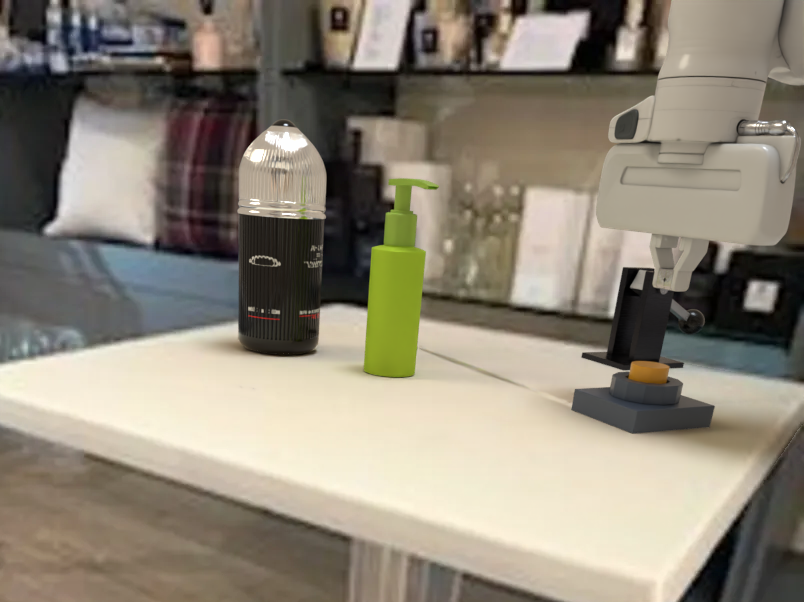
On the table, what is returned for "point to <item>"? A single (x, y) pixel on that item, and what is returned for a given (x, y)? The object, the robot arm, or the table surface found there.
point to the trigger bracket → (637, 324)
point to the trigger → (675, 309)
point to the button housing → (642, 406)
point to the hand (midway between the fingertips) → (669, 289)
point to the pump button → (649, 372)
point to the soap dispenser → (396, 289)
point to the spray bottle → (280, 242)
